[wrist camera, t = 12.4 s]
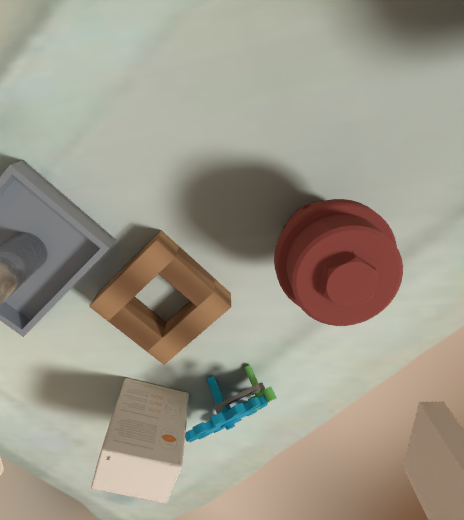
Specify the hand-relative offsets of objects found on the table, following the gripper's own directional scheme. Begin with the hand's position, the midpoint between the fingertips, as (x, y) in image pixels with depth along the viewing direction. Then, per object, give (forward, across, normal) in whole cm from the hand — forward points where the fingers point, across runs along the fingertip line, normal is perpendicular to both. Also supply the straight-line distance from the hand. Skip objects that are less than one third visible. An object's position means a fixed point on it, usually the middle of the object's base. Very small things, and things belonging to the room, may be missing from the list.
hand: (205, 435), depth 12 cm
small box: (+29, -8, -25) cm, 39 cm away
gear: (+29, +2, -24) cm, 37 cm away
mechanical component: (+29, +10, -3) cm, 31 cm away
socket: (+29, -6, -10) cm, 31 cm away
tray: (+29, -19, -5) cm, 35 cm away
